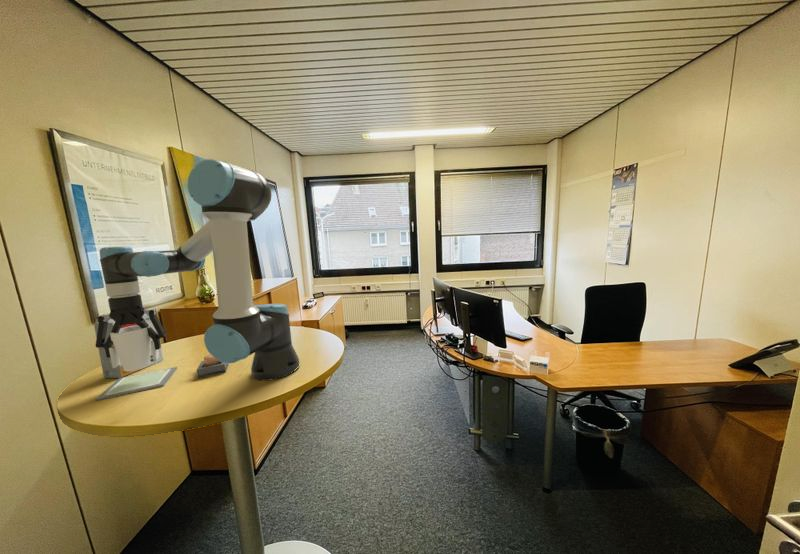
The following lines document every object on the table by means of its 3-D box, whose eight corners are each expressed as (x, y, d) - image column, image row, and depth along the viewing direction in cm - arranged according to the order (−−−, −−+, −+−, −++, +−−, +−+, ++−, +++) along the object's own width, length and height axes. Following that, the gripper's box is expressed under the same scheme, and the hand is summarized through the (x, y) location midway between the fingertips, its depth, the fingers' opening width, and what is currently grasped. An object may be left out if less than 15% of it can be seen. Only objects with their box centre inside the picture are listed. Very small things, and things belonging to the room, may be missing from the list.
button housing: (225, 372, 97) (224, 364, 97) (197, 378, 94) (196, 369, 93) (228, 363, 104) (227, 356, 104) (202, 369, 101) (201, 361, 100)
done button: (219, 364, 97) (218, 356, 97) (203, 368, 96) (202, 359, 95) (221, 360, 102) (220, 352, 101) (206, 363, 100) (205, 355, 99)
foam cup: (132, 374, 87) (124, 334, 85) (109, 373, 89) (101, 333, 87) (163, 361, 96) (157, 324, 94) (142, 360, 98) (135, 324, 96)
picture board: (163, 386, 89) (163, 383, 89) (95, 400, 83) (95, 398, 83) (177, 368, 103) (176, 366, 103) (119, 379, 96) (119, 377, 96)
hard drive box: (120, 378, 97) (109, 323, 94) (102, 378, 98) (91, 323, 96) (164, 359, 112) (156, 311, 110) (148, 359, 113) (140, 311, 111)
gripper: (171, 289, 97) (181, 351, 100) (83, 298, 88) (97, 366, 91) (164, 292, 90) (175, 359, 93) (68, 302, 81) (83, 375, 84)
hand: (136, 362), depth 92 cm, fingers closed on foam cup, 9 cm apart
